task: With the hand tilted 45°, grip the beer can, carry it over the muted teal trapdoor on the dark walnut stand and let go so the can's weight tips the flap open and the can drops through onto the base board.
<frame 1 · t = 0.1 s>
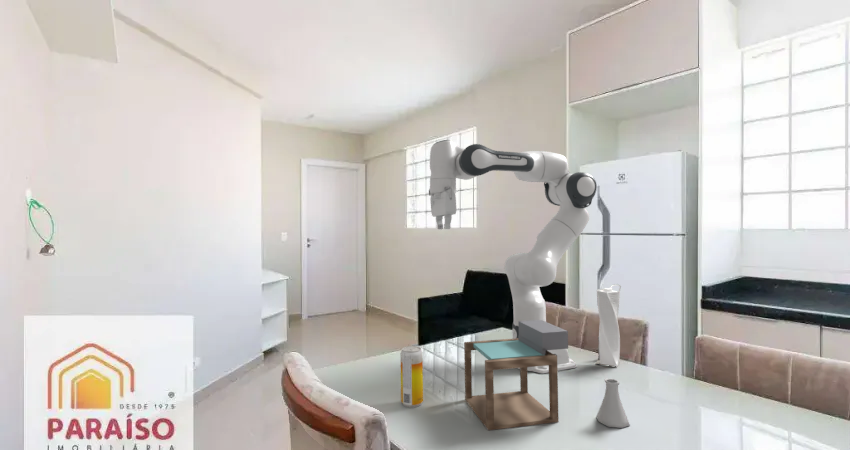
hand: (443, 229, 137), 48 cm above the table, tool pointing down, fingers open, 8 cm apart
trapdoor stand: (508, 409, 106), on the table
flask: (612, 422, 99), on the table
trapdoor: (518, 339, 107), point 18 cm above the table, hinge at 0.0°
skyscraper: (609, 364, 142), on the table
beer can: (412, 404, 111), on the table
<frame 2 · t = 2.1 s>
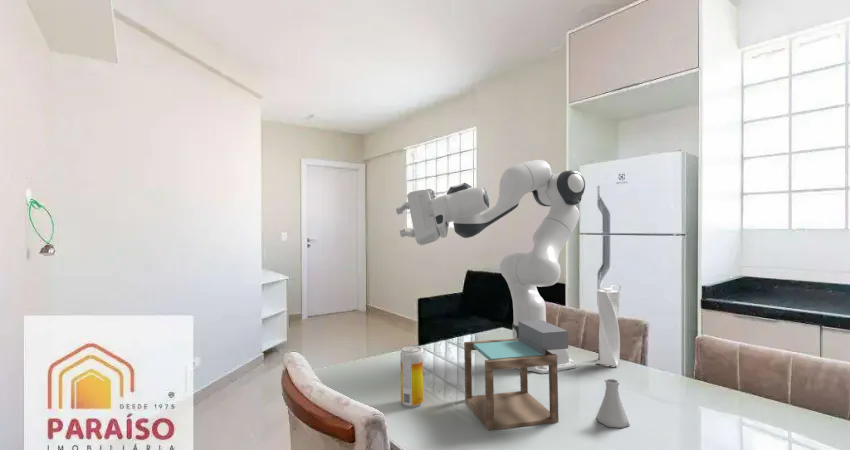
hand: (398, 222, 131), 50 cm above the table, tool horizontal, fingers open, 8 cm apart
nothing on the table moved.
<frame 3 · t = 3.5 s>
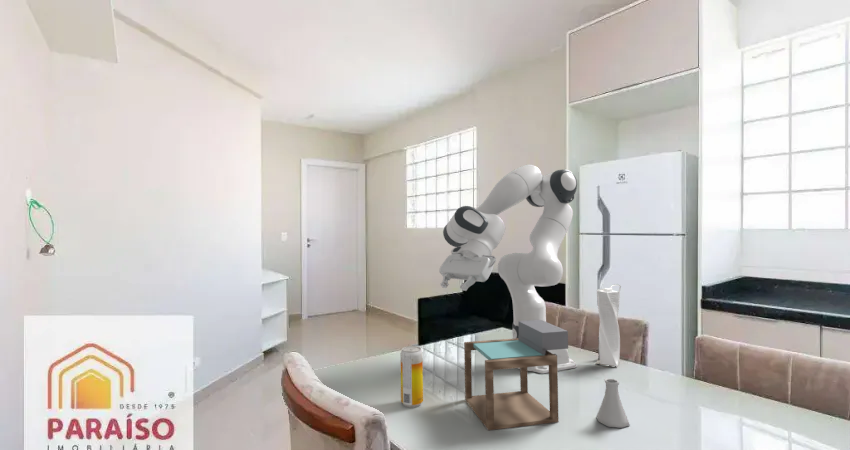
hand: (452, 287, 126), 30 cm above the table, tool tilted 45°, fingers open, 8 cm apart
nothing on the table moved.
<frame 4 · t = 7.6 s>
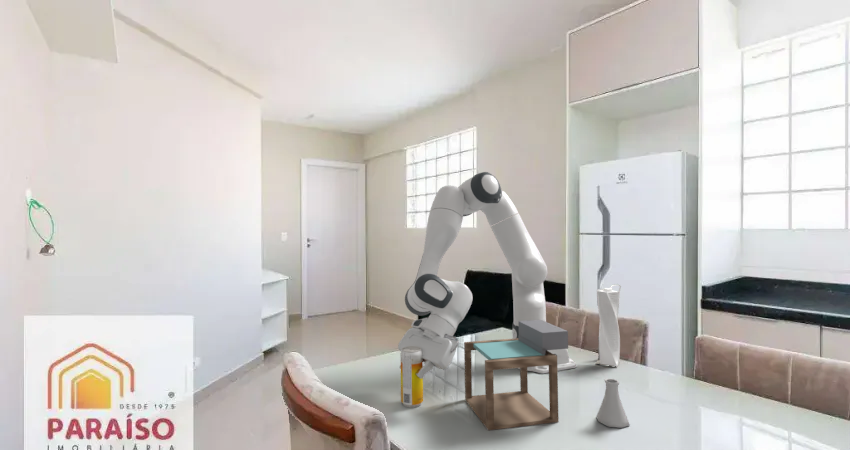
hand: (409, 373, 111), 8 cm above the table, tool tilted 45°, fingers closed on beer can, 6 cm apart
beer can: (412, 404, 111), on the table, touching gripper
everything else where it was.
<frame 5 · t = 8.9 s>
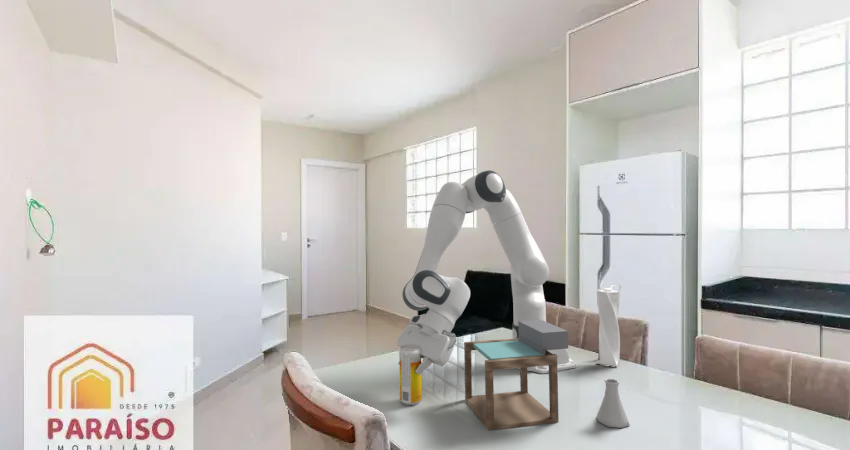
hand: (408, 369, 112), 9 cm above the table, tool tilted 45°, fingers closed on beer can, 6 cm apart
beer can: (410, 401, 112), on the table, touching gripper
everything else where it was.
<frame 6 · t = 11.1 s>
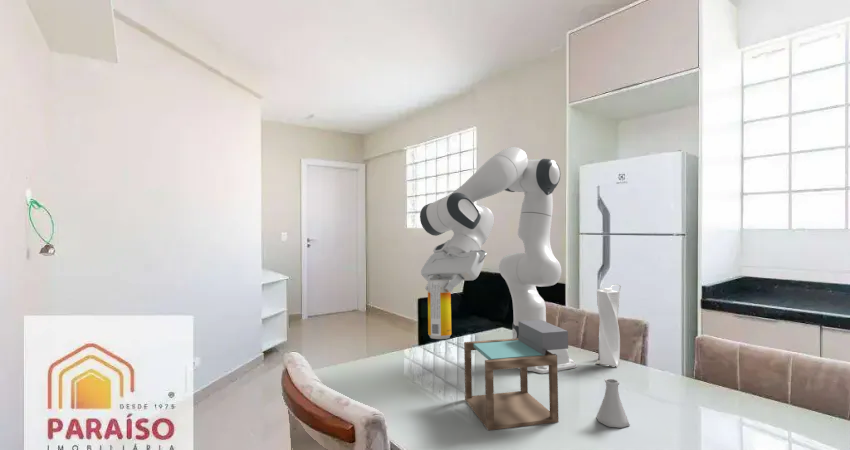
hand: (437, 290, 107), 32 cm above the table, tool tilted 45°, fingers closed on beer can, 6 cm apart
beer can: (439, 338, 106), point 19 cm above the table, touching gripper
everything else where it was.
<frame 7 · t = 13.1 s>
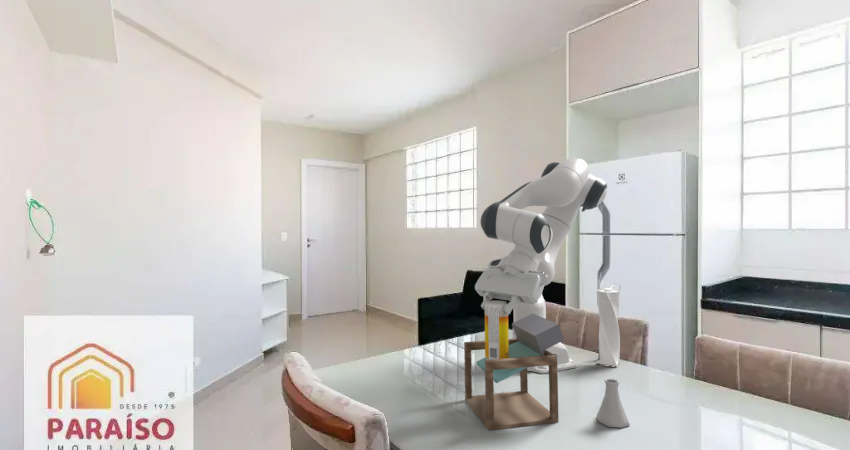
hand: (494, 310, 106), 26 cm above the table, tool tilted 45°, fingers closed on beer can, 6 cm apart
trapdoor: (516, 345, 107), point 17 cm above the table, hinge at -21.1°
beer can: (496, 360, 106), point 13 cm above the table, touching gripper
everything else where it was.
when the fingers open (26 cm above the table, at t = 13.1 s): beer can drops 9 cm, resting on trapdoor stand.
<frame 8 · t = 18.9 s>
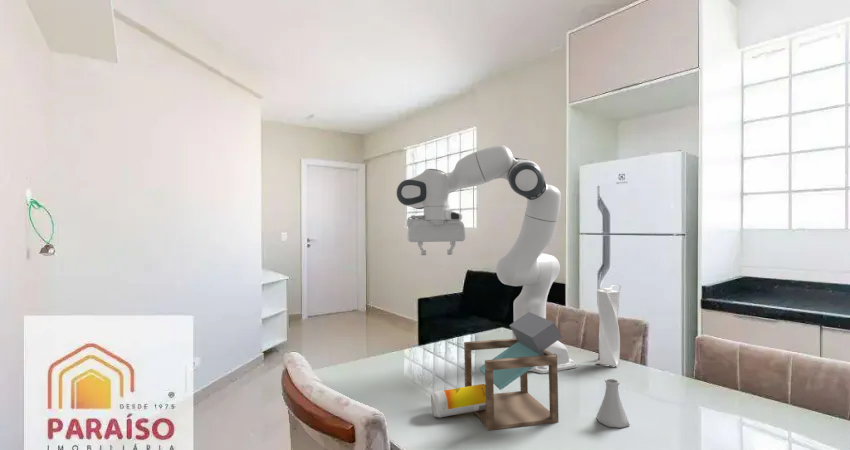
hand: (436, 254, 141), 39 cm above the table, tool pointing down, fingers open, 8 cm apart
trapdoor: (515, 348, 107), point 16 cm above the table, hinge at -29.2°
beer can: (489, 395, 106), point 4 cm above the table, touching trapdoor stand
everything else where it was.
at the end: beer can point 4.2 cm above the table; the gripper is holding nothing; beer can inside the target area (5.4 cm from its centre), point 4.2 cm above the table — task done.
